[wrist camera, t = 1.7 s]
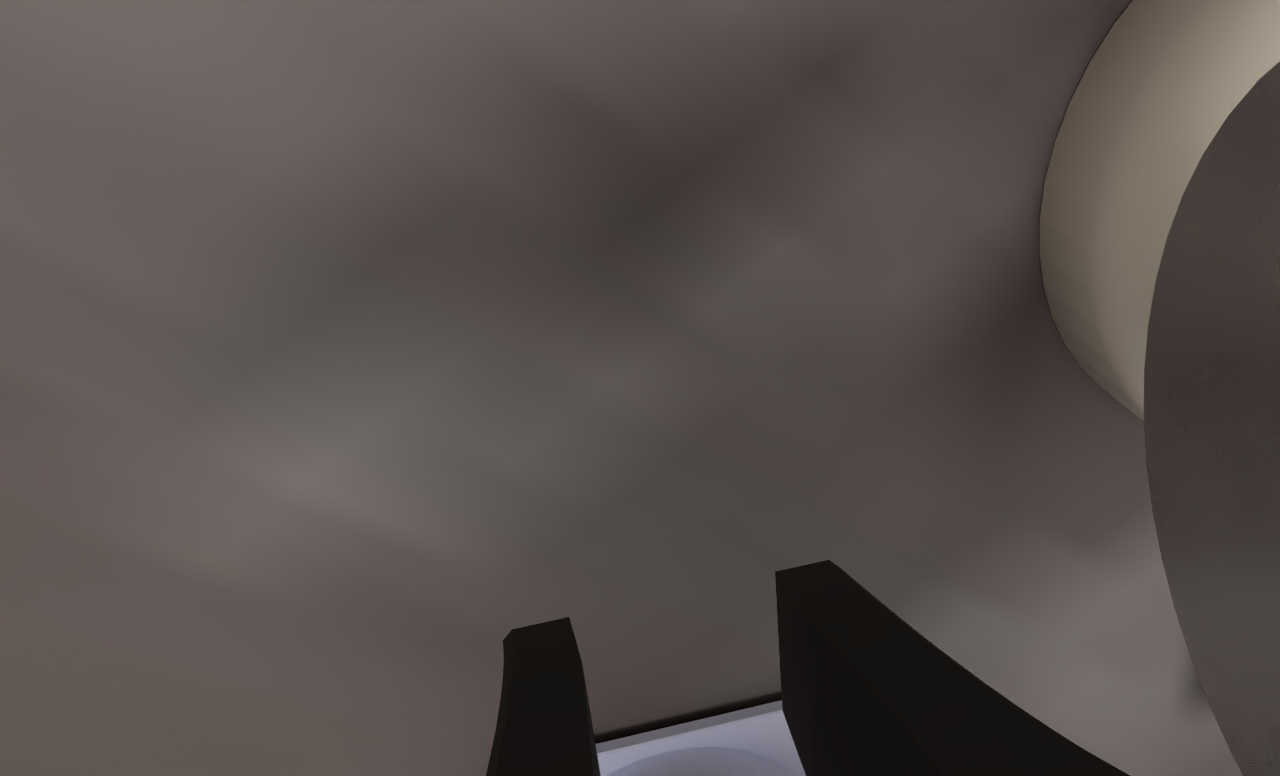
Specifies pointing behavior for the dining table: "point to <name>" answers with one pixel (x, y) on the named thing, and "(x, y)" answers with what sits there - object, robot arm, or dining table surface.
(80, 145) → the dining table surface
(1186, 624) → the lid
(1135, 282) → the pot
